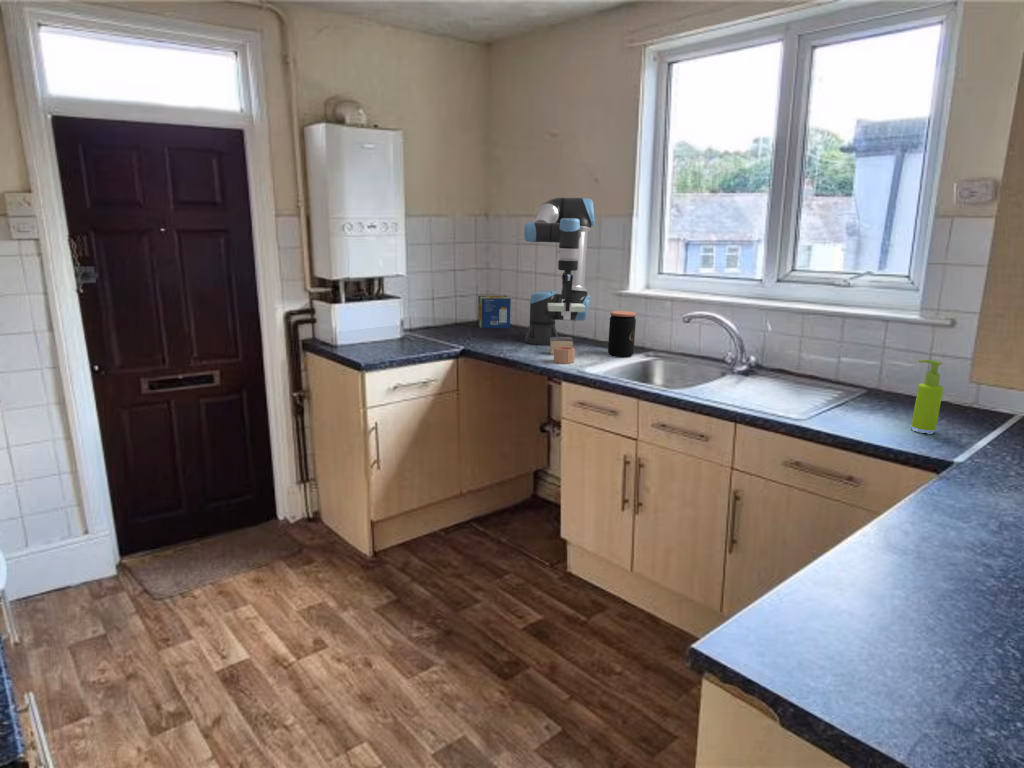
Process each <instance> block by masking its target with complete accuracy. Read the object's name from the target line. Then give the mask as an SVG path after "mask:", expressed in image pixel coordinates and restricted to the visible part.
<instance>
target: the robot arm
mask: <svg viewBox="0 0 1024 768" xmlns="http://www.w3.org/2000/svg"><path fill="white" fill-rule="evenodd" d="M594 209H595V208H594V202H593V200H592V199H591V198H585V197H555V198H552V199H549V200H546V201H545V202H543V203H542V204H541V205H540V206H539V207H538V209H537V212H536V218H535V219H534V220H533V221H531V222H525V224H524V229H523V231H524V233H523V234H524V237H523V238H524V240H525V241H526V242H530V243H557V244H558V245H559V246H558V249H559V250H557V251H556V253H557V254H558V261H557V262H558V263H557V269H558V270H559V271H563V273H562V275H561V279H562V280H561V282H562V283H561V284H562V287H561V293H558V292H557V290H553V289H551V290H550V289H549V290H539V291H534V292H533V293H532V294H531V295H530V301H529V306H530V307H529V324H528V325H529V326H528V329H527V332H526V334H525V336H524V338H525V339H524V342H525V343H527V344H532V345H538V346H539V345H540V346H541V345H544V346H546V345H547V346H548V345H549V346H550V337H559V335H558V332H557V327H556V321H573V322H583V321H585V320H586V319H587V317H588V312H589V309H590V307H589V306H590V303H591V295H590V294H588V290H587V289H586V287H585V282H586V264H587V263H586V262H587V247H588V233H589V232H590V231H592V227H594V226H595V225H596V223H595V210H594ZM548 303H564V312H560V311H548V308H547V304H548ZM571 303H578V304H584V306H585V307H586V309H585V312H571Z"/></svg>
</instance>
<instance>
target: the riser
mask: <svg viewBox="0 0 1024 768" xmlns="http://www.w3.org/2000/svg"><path fill="white" fill-rule="evenodd" d="M558 346H568V347H573V346H574V340H573V337H568V336H567V337H566V336H565V337H564V336H558V337H550V345H549V353H550V356H554V347H558ZM573 348H574V347H573Z"/></svg>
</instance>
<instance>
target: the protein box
mask: <svg viewBox="0 0 1024 768" xmlns="http://www.w3.org/2000/svg"><path fill="white" fill-rule="evenodd" d="M477 298H478V299H477V304H478V305H477V325H478V327H479V328H481V329H510V328H511V309H512V308H511V306H512V305H511V300H512V299H511V297H509V296H508V295H478V297H477Z"/></svg>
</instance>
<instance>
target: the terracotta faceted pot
mask: <svg viewBox="0 0 1024 768" xmlns="http://www.w3.org/2000/svg"><path fill="white" fill-rule="evenodd" d="M575 352H576V349H575V347H568V346H558V347H554V355H553V363H555V362H556V363H555V364H559V363H561V364H560V365H570V364H571V363H572V364H574V362H575Z"/></svg>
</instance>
